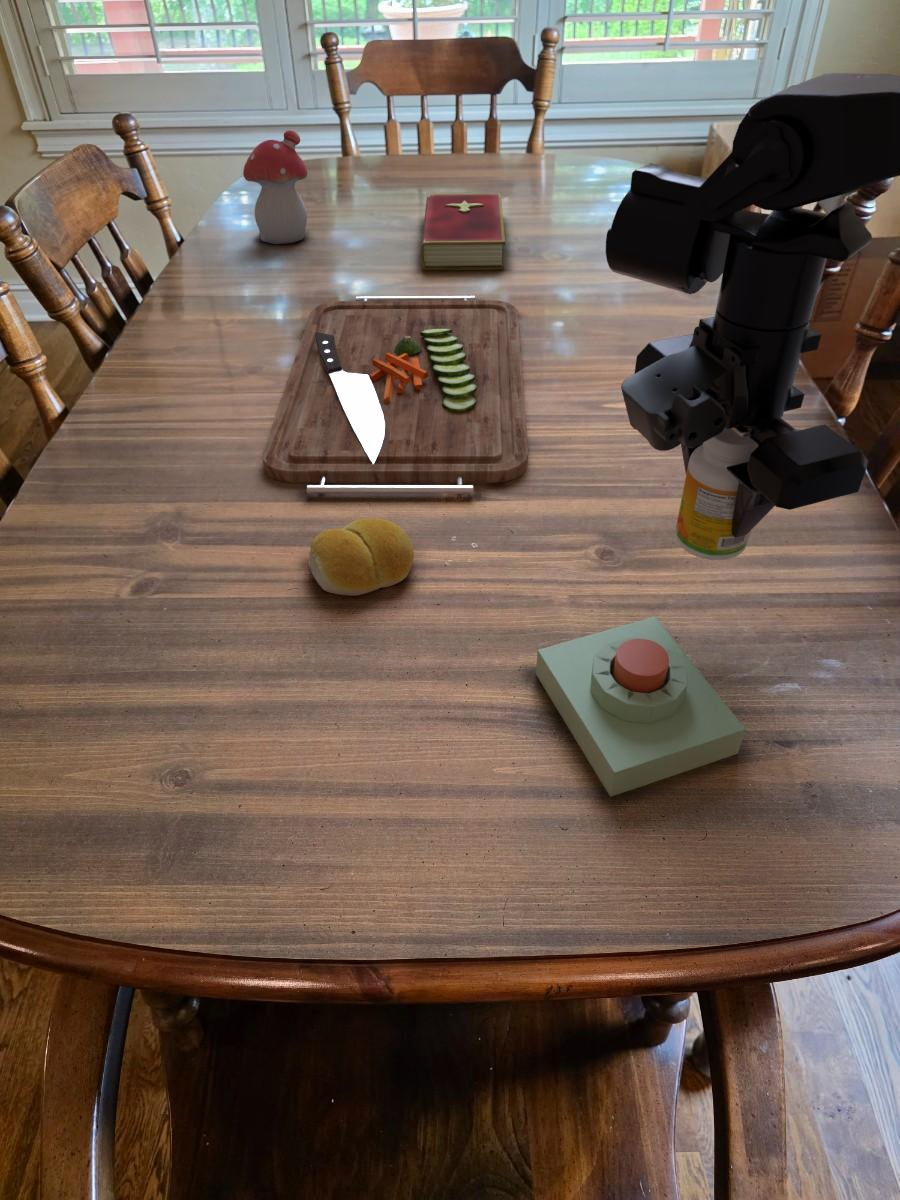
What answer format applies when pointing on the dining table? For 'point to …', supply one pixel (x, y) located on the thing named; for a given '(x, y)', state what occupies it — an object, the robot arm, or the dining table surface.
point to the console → (636, 709)
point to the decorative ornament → (278, 189)
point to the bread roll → (361, 557)
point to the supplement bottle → (712, 498)
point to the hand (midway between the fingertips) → (716, 513)
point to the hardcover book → (463, 232)
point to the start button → (641, 665)
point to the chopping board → (403, 397)
